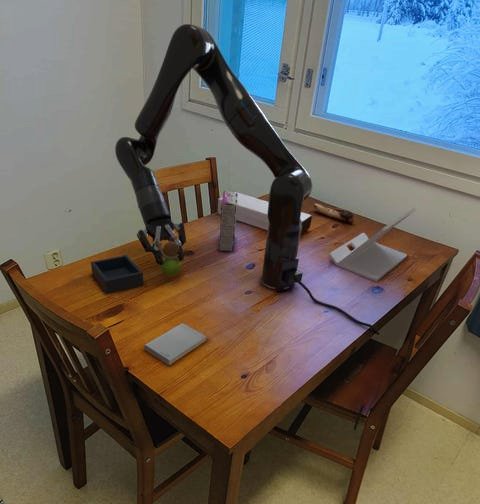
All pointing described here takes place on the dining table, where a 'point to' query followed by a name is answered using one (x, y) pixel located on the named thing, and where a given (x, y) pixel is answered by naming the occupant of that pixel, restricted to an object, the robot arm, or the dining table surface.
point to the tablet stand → (369, 254)
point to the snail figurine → (169, 258)
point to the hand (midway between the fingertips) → (171, 262)
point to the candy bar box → (228, 221)
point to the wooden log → (335, 213)
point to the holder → (117, 274)
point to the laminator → (258, 212)
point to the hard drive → (175, 343)
